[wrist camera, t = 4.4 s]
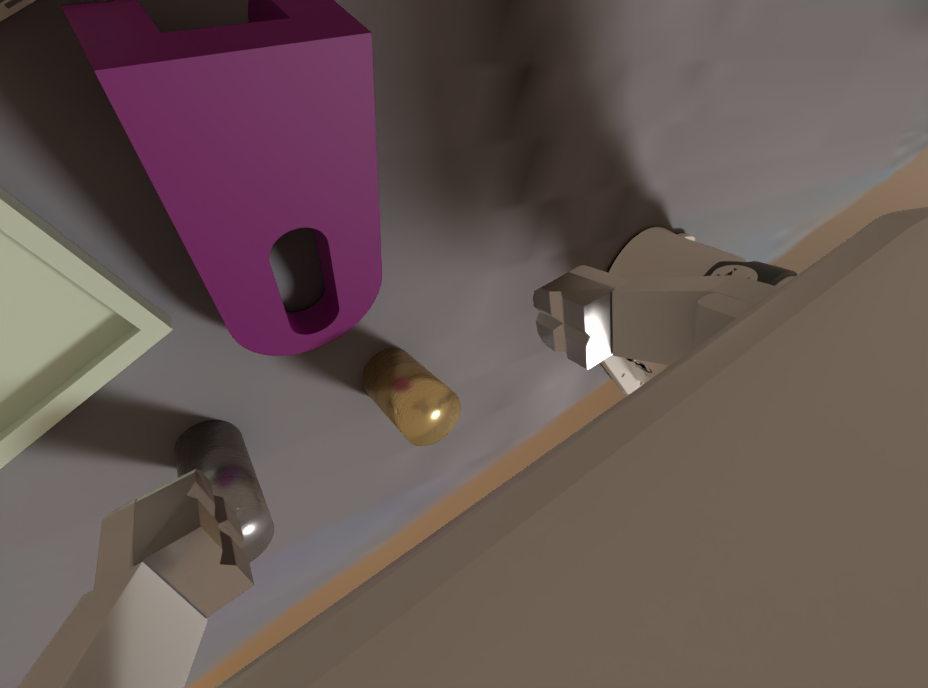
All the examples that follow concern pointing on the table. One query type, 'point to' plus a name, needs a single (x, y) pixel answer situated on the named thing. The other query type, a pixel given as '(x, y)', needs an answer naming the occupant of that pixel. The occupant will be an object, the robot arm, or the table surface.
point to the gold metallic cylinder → (411, 397)
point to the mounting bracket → (254, 151)
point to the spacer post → (228, 478)
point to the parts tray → (59, 326)
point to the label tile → (12, 7)
